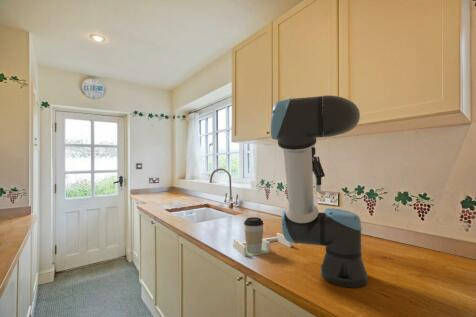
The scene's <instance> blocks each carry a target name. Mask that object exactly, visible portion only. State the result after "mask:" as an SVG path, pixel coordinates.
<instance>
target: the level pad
mask: <svg viewBox="0 0 476 317" xmlns="http://www.w3.org/2000/svg"><path fill="white" fill-rule="evenodd" d="M269 253H270V252H268V251H266V250H265V249H263V248H262V249H261V252H260V253H257V254H251V253H248V252H247V249H246V256H245V257H253V256H258V255H265V254H269Z"/></svg>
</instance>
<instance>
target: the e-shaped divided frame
mask: <svg viewBox="0 0 476 317" xmlns="http://www.w3.org/2000/svg"><path fill="white" fill-rule="evenodd" d="M271 242H279V243H280V244H283V245H284V246H286V247H287V248H293V244H292V243H293V242H288V241H287V240H286V239H285V237H284V235H283V233H280V232H276V236H272V237H267V238H266V237H265V238H262V248H263V249H265V250H266V251H268V252H269V253H270V252H271ZM232 247H233V248H234V249H235V250H236V251H237V252H238V253H240V254H241V255H242V256H243V257H247V256H246V241H242V242H240V241H239V240H238V239H235V238H234V239H233V243H232Z"/></svg>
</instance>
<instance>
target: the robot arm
mask: <svg viewBox="0 0 476 317" xmlns="http://www.w3.org/2000/svg"><path fill="white" fill-rule="evenodd" d="M271 112H272V113H271V118H270V137H271V139H272V140H275V141H277V146H278V147H279V148H281V150H283V156H284V159H283V160H284V169H285V170H284V171H285V176H286V177H285V178H286V179H285V180H286V189H287V199H288V205H287V206H286V208H285V209H284V210H283V212H282V214H281V231H282V235H284V237H285V239H286V240H287V241H288V242H292V243H295V244H300V245H301V244H302V245H312V246H313V245H314V246H322V247H323V246H324V247H325V254H324V257H323V259H322V260H323V261H322V263H321V266H320V276H321V277H322V278H323V279H324V280H325V281H327V282H328V283H330V284H333V285H336V286H340V287H344V288H350V289H352V288H353V289H355V288H356V289H357V288H362V287H364V286H366V285H367V284H368V282H369V279H368V273H367V271H366V267H365V264H364V261H363V257H362V229H363V227H362V222H361V217H360V216H359V215H358V214H357V213H354V212H352V211H349V210H345V209H341V208H340V209H339V208H335V207H333V208H329V207H328V208H325V209H324V212H320V211H319V209H318V207H317V206H316V205H315V202H314V199H315V198H314V193H321V191H322V188H321V186H322V178H323V177H325V176H326V175H325V172H324V169H323V167H322V166H323V165H322V164H321V158H320V156H315V155H316V147H315V146H316V144H317V138H329V137H336V136H339V135H343V134H345V133H349V132H351V131H352V130H354V129H355V128H356V126H357V125H358V124H359V121H360V119H361V118H360V116H361V113H360V110H359V107H358V106H357V105H356V104H355V103H354V102H353V101H352V100H349V99H347V98H345V97H341V96H336V95H321V96H307V97H298V98H297V97H296V98H295V97H294V98H288V99H281V100H278V101H276V102H275V103H274V105H273V107H272V111H271ZM313 174H314V176H315V177H314V176H313ZM313 179H314V180H313Z"/></svg>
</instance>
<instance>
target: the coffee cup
mask: <svg viewBox="0 0 476 317" xmlns="http://www.w3.org/2000/svg"><path fill="white" fill-rule="evenodd" d="M243 225H244V229H243V230H244V240H245V241H244V242H246V249H247V252H248V253H251V254H257V253H260V252H261V249H262V238H263V237H264V236H263V235H264V221H263V220H262V219H261V217H256V216H253V217H252V216H251V217H246V219H245V221H243ZM263 239H264V238H263Z"/></svg>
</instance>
